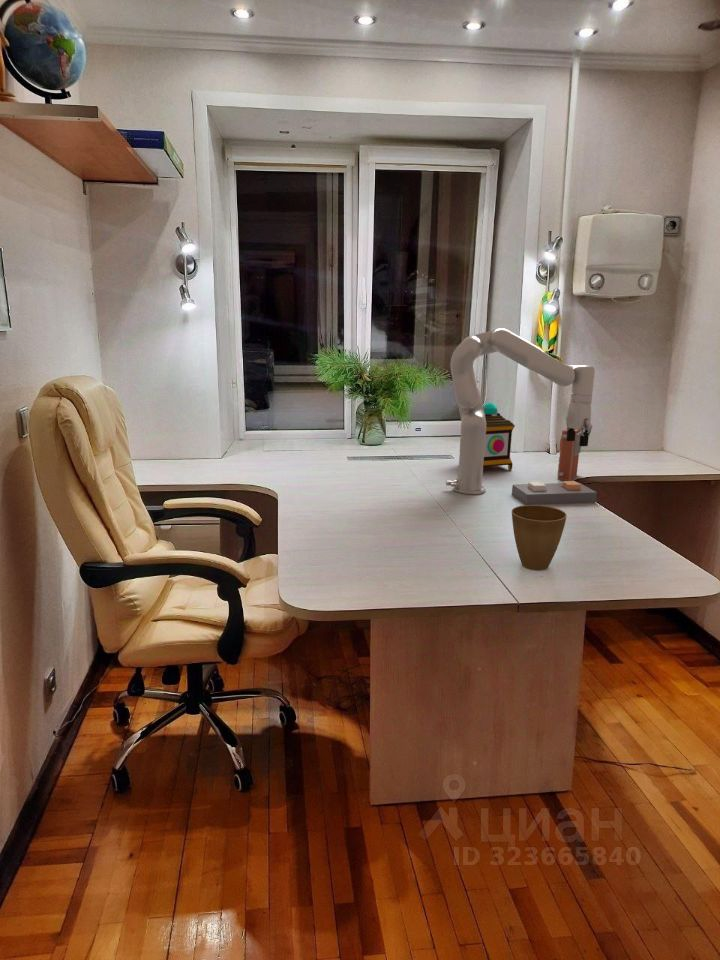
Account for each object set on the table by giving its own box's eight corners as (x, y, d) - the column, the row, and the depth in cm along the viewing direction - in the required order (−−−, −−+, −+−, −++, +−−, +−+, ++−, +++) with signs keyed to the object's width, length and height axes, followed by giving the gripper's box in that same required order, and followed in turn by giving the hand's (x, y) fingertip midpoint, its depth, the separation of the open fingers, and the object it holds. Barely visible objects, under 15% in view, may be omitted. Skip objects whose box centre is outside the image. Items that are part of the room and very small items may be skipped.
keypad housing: (526, 504, 244) (527, 494, 243) (511, 494, 257) (512, 484, 256) (595, 502, 249) (597, 492, 248) (577, 492, 262) (579, 482, 261)
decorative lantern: (516, 471, 294) (522, 404, 286) (478, 474, 287) (483, 406, 279) (492, 461, 312) (496, 398, 304) (455, 464, 305) (459, 399, 297)
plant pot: (551, 555, 195) (556, 504, 191) (568, 576, 180) (574, 520, 176) (501, 555, 194) (505, 504, 190) (514, 575, 180) (519, 520, 176)
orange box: (554, 479, 281) (563, 472, 293) (571, 482, 277) (579, 474, 290) (559, 430, 275) (568, 425, 288) (576, 432, 272) (584, 426, 284)
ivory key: (533, 493, 248) (534, 485, 248) (527, 489, 253) (528, 482, 252) (545, 493, 249) (546, 485, 248) (540, 489, 254) (540, 481, 253)
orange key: (567, 492, 251) (568, 484, 250) (561, 488, 256) (562, 481, 255) (579, 491, 252) (580, 484, 251) (573, 488, 256) (574, 481, 256)
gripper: (560, 395, 253) (556, 439, 258) (583, 402, 237) (579, 448, 241) (578, 395, 255) (574, 438, 259) (602, 401, 238) (597, 448, 243)
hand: (576, 443), depth 250 cm, fingers open, 9 cm apart
